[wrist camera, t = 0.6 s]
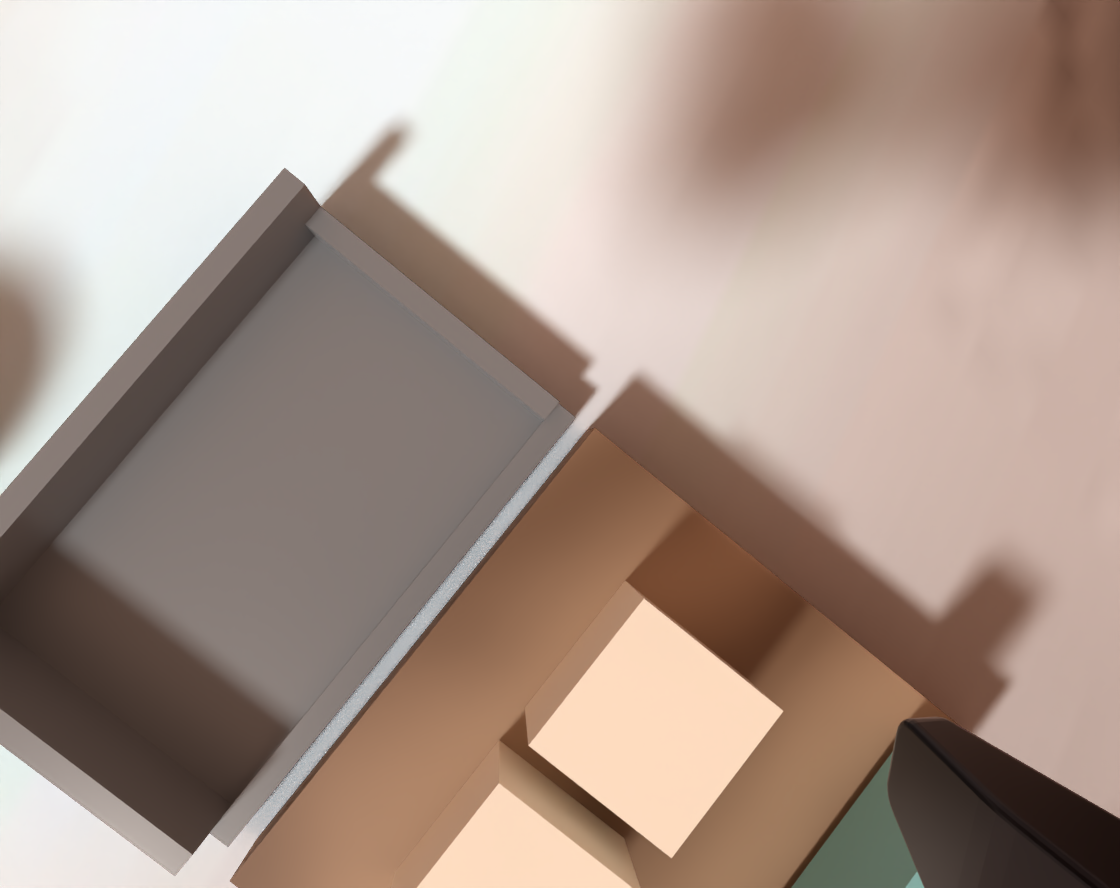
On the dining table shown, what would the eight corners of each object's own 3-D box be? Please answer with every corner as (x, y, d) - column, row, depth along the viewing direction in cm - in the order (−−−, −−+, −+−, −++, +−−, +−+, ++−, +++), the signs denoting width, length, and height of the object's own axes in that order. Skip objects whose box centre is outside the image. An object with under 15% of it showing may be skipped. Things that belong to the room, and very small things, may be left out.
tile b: (623, 838, 19) (643, 896, 16) (522, 970, 19) (526, 1049, 16) (499, 740, 19) (499, 783, 16) (395, 871, 18) (378, 936, 16)
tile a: (746, 678, 19) (783, 711, 17) (648, 805, 19) (671, 858, 16) (625, 580, 19) (643, 598, 16) (524, 707, 19) (528, 745, 16)
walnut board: (963, 739, 22) (1010, 767, 20) (662, 1148, 21) (678, 1221, 19) (585, 431, 21) (594, 427, 19) (256, 839, 20) (229, 881, 18)
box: (572, 419, 21) (584, 412, 18) (241, 827, 20) (196, 892, 17) (315, 210, 21) (284, 167, 18) (-34, 617, 20) (-130, 645, 17)
